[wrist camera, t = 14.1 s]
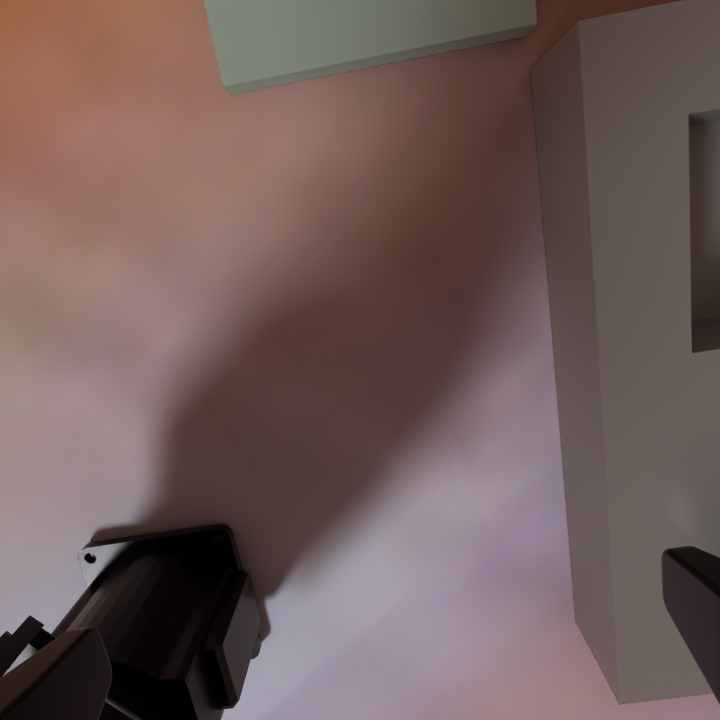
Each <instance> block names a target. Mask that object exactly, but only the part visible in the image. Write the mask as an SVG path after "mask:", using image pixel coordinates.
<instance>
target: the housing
mask: <svg viewBox="0 0 720 720" xmlns="http://www.w3.org/2000/svg"><path fill="white" fill-rule="evenodd" d="M530 72H531V84H532V97H533V109H534V121H535V133H536V145H537V158H538V170H539V182H540V194H541V206H542V219H543V231H544V243H545V255H546V267H547V280H548V292H549V304H550V316H551V328H552V341H553V353H554V365H555V377H556V389H557V402H558V414H559V426H560V438H561V451H562V463H563V475H564V487H565V499H566V512H567V524H568V536H569V548H570V560H571V573H572V585H573V597H574V609H575V621H576V623H577V625H578V627H579V629H580V631H581V633H582V635H583V636H584V638H585V640H586V642H587V644H588V646H589V648H590V650H591V652H592V654H593V655H594V657H595V659H596V661H597V663H598V665H599V667H600V669H601V671H602V673H603V674H604V676H605V678H606V680H607V682H608V684H609V686H610V688H611V690H612V692H613V693H614V695H615V697H616V699H617V701H618V703H619V704H628V703H636V702H645V701H653V700H662V699H671V698H679V697H688V696H696V695H705V694H713V692H712V690H711V688H710V686H709V684H708V683H707V681H706V679H705V677H704V676H703V674H702V672H701V670H700V668H699V667H698V665H697V663H696V661H695V659H694V658H693V656H692V654H691V652H690V651H689V649H688V647H687V645H686V643H685V642H684V640H683V638H682V636H681V635H680V633H679V631H678V629H677V627H676V626H675V624H674V622H673V620H672V619H671V617H670V615H669V613H668V611H667V609H666V606H665V604H664V600H663V594H662V565H661V557H662V553H663V551H664V550H666V549H668V548H675V547H683V546H694V547H696V548H699V549H701V550H703V551H706V552H708V553H710V554H713V555H715V556H717V557H719V558H720V0H680V1H675V2H670V3H665V4H660V5H655V6H650V7H645V8H640V9H635V10H630V11H625V12H620V13H615V14H610V15H605V16H600V17H595V18H590V19H585V20H580V21H578V22H577V23H576V24H575V25H574V26H573V27H572V28H571V29H570V30H569V31H568V32H567V33H566V34H565V35H564V36H563V37H562V38H561V39H560V40H559V41H558V42H557V43H556V44H555V45H554V46H553V47H552V48H551V49H550V50H549V51H548V52H547V53H546V54H545V55H544V56H543V57H542V58H541V59H540V60H539V61H538V62H537V63H536V64H535V65H534V66H533V67H532V68H531V69H530Z"/></svg>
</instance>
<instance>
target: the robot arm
mask: <svg viewBox="0 0 720 720" xmlns="http://www.w3.org/2000/svg"><path fill="white" fill-rule="evenodd" d="M215 535H221V536H223V538H224V539H223V540H219V539H218V538H216V536H215ZM90 553H92V554H94V555H95V556H96V558H94V557H92V556H91V555H90ZM78 557H79V562H80V565H81V568H82V570H83V573H84V576H85V579H86V582H87V585H88V588H87V590H86V591H85V592H84V593H83V595H82V596H81V597H80V598H79V600H78V601H77V602H76V603H75V605H74V606H73V607H72V608H71V610H70V611H69V612H68V614H67V615H66V616H65V617H64V619H63V620H62V621H61V622H60V624H59V625H58V626H57V627H56V629H55V630H54V631H53V632H52V634H50V633H49V632H47V631H46V630H44V629H43V628H42V627H43V626H44V624H42V623H41V622H39V621H38V620H36V619H35V618H33V617H32V616H29V617H28V618H27V619H26V620H25V621H24V622H23V623H22V624H21V626H20V627H19V628H18V629H17V630H16V631H15V632H14V633H13V634H10V633H9V632H7V631H6V632H5V633H4V634H3V635H2V636H1V637H0V720H221V718H222V714H223V711H224V709H229V708H234V707H235V705H236V704H237V702H238V701H239V699H240V695H241V692H242V688H243V684H244V681H245V677H246V674H247V670H248V667H249V663H250V659H253V658H255V657H257V656H258V654H259V652H260V648H261V638H260V634H259V627H260V624H261V618H260V614H259V610H258V606H257V603H256V599H255V595H254V591H253V587H252V583H251V580H250V576H249V573H248V572H247V571H246V570H245V569H242V566H241V562H240V559H239V555H238V551H237V547H236V543H235V540H234V536H233V532H232V530H231V529H230V528H229V527H228V526H227V525H224V524H214V525H207V526H200V527H193V528H186V529H179V530H172V531H165V532H159V533H152V534H145V535H138V536H131V537H124V538H117V539H110V540H104V541H97V542H91V543H88V544H87V545H86V546H85V547H84V548H83V549H82V550H81V551H80V553H79V555H78ZM661 565H662V594H663V600H664V604H665V606H666V609H667V611H668V613H669V615H670V617H671V619H672V620H673V622H674V624H675V626H676V627H677V629H678V631H679V633H680V635H681V636H682V638H683V640H684V642H685V643H686V645H687V647H688V649H689V651H690V652H691V654H692V656H693V658H694V659H695V661H696V663H697V665H698V667H699V668H700V670H701V672H702V674H703V676H704V677H705V679H706V681H707V683H708V684H709V686H710V688H711V690H712V692H713V693H714V695H715V697H716V699H717V700H718V702H719V704H720V558H719V557H717V556H715V555H713V554H710V553H708V552H706V551H703V550H701V549H699V548H696V547H694V546H683V547H675V548H668V549H666V550H664V551H663V553H662V557H661Z"/></svg>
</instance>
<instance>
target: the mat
mask: <svg viewBox="0 0 720 720" xmlns="http://www.w3.org/2000/svg"><path fill="white" fill-rule="evenodd" d="M204 3H205V8H206V12H207V17H208V22H209V26H210V31H211V35H212V40H213V45H214V49H215V54H216V58H217V63H218V68H219V72H220V77H221V82H222V86H223V87H224V88H225V89H226V90H227V91H228V92H229V93H230V94H231V95H232V94H237V93H243V92H248V91H253V90H258V89H263V88H268V87H273V86H278V85H283V84H288V83H293V82H298V81H303V80H308V79H313V78H318V77H323V76H328V75H333V74H338V73H343V72H349V71H354V70H359V69H364V68H369V67H374V66H379V65H384V64H389V63H394V62H399V61H404V60H409V59H414V58H419V57H424V56H429V55H434V54H439V53H444V52H449V51H455V50H460V49H465V48H470V47H475V46H480V45H485V44H490V43H495V42H500V41H505V40H510V39H515V38H520V37H525V36H528V35H529V34H530V32H531V31H532V30H533V29H534V27H535V26H536V25H537V13H536V0H204Z"/></svg>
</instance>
